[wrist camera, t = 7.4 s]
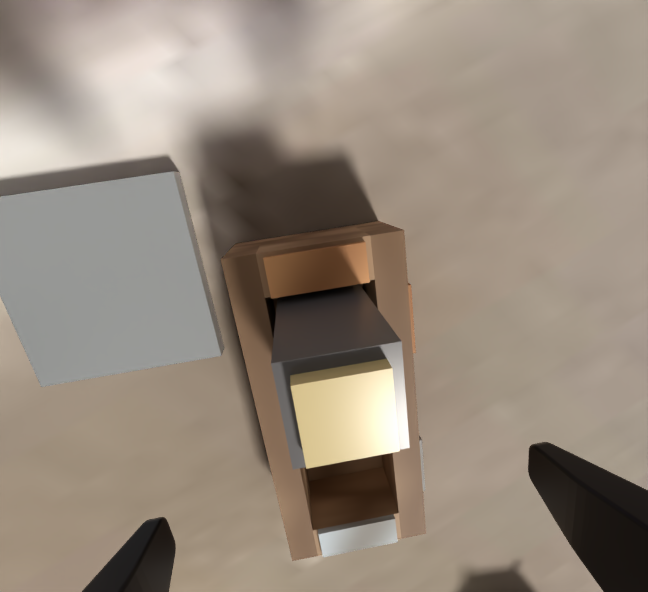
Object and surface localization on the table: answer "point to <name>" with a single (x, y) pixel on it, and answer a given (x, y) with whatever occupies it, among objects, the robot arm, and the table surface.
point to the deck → (105, 278)
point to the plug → (338, 378)
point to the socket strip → (257, 343)
